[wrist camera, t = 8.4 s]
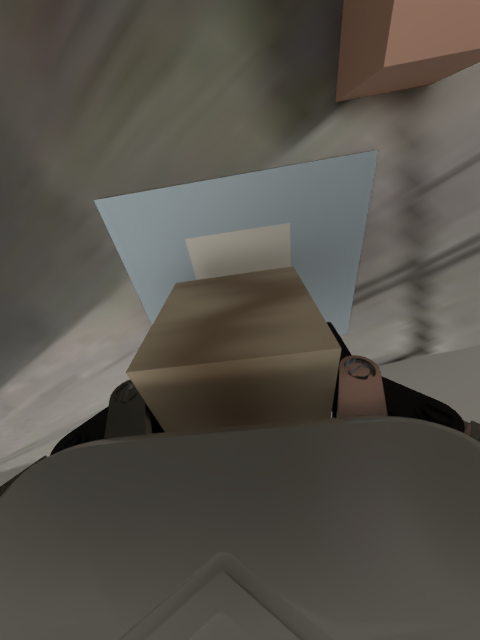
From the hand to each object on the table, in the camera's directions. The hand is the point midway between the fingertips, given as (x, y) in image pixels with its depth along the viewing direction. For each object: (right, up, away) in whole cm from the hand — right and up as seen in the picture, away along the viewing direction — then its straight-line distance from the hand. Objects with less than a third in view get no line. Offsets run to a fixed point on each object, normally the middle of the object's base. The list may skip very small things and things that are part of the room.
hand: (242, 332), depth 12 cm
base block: (0, +1, +1) cm, 1 cm away
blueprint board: (0, +4, +6) cm, 7 cm away
